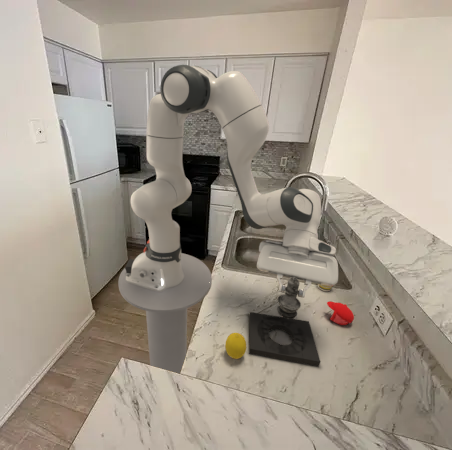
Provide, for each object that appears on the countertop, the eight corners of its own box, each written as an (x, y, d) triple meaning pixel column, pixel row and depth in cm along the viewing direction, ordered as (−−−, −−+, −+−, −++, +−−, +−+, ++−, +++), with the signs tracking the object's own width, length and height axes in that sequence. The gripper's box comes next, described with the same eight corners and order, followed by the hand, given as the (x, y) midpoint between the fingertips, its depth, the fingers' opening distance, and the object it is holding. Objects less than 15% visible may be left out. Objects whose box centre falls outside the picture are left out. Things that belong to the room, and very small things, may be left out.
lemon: (240, 368, 66) (243, 347, 63) (220, 358, 69) (223, 337, 65) (247, 353, 71) (251, 332, 67) (229, 343, 73) (231, 323, 70)
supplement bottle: (333, 291, 94) (339, 273, 90) (320, 291, 94) (326, 273, 90) (327, 283, 98) (332, 265, 95) (314, 283, 98) (320, 265, 95)
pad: (249, 353, 70) (250, 348, 70) (248, 316, 83) (249, 311, 82) (318, 366, 67) (320, 361, 66) (307, 325, 80) (309, 321, 79)
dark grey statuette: (274, 315, 69) (282, 280, 64) (276, 301, 74) (283, 267, 69) (298, 322, 67) (307, 286, 62) (298, 307, 72) (307, 272, 67)
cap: (350, 316, 83) (355, 302, 81) (352, 330, 78) (358, 315, 76) (323, 309, 86) (327, 295, 83) (323, 321, 81) (328, 307, 78)
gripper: (261, 234, 72) (251, 283, 68) (342, 249, 65) (337, 304, 61) (260, 241, 77) (251, 286, 73) (336, 255, 70) (330, 305, 66)
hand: (291, 294), depth 67 cm, fingers closed on dark grey statuette, 3 cm apart
